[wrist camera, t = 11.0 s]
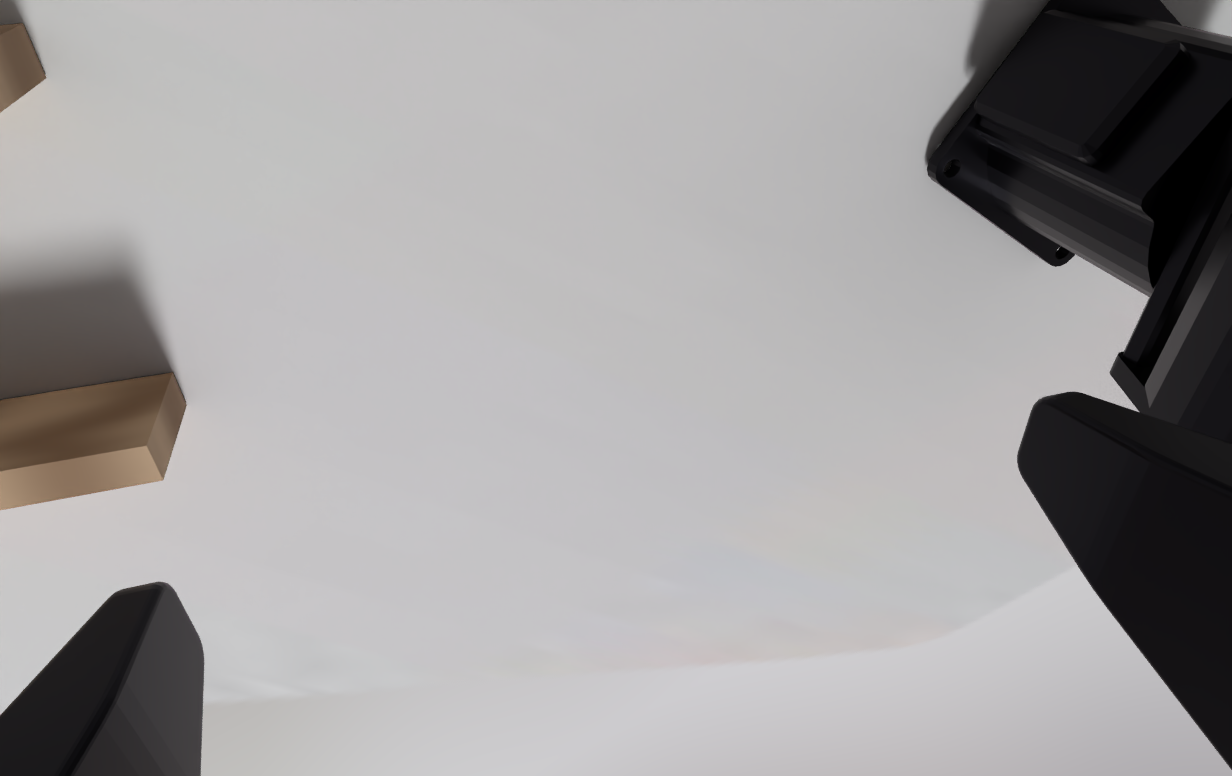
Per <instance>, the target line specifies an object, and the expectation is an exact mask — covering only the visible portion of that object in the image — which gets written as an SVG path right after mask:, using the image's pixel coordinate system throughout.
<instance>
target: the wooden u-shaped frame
mask: <svg viewBox="0 0 1232 776" xmlns="http://www.w3.org/2000/svg"><path fill="white" fill-rule="evenodd" d="M44 79H46V76H45V74H44V71H43V69H42V67H41V64H40V62H39V60H38V57H37V55H36V53H35V50H34V48H33V46H32V43H31V41H30V39H29V36H28V34H27V32H26V29H25V27H24V25H23V23H20V24H7V25H0V112H2V111H3V110H4V109H6V108H7V107H8V106H10V105H11V104H12V103H14V102H15V101H16V100H18V99H19V98H20V97H22V96H23V95H24V94H26V93H27V92H28V91H30V90H31V89H32V88H34V87H35V86H36V85H38V84H39V83H40V82H42V81H43V80H44ZM186 406H187V405H186V402H185V400H184V398H183V395H182V393H181V391H180V388H179V386H178V384H177V381H176V379H175V377H174V374H173V372H172V373H166V374H160V375H153V376H147V377H141V378H135V379H129V380H122V381H116V382H110V383H104V384H97V385H91V386H85V387H79V388H72V389H66V390H60V391H54V392H47V393H41V394H35V395H29V396H23V397H16V398H10V399H4V400H0V510H4V509H10V508H15V507H20V506H26V505H31V504H37V503H42V502H48V501H53V500H59V499H64V498H69V497H75V496H80V495H86V494H91V493H97V492H102V491H108V490H113V489H118V488H124V487H129V486H135V485H140V484H146V483H151V482H157V481H162V480H163V479H164V476H165V473H166V470H167V467H168V463H169V460H170V457H171V454H172V450H173V447H174V444H175V441H176V438H177V434H178V431H179V428H180V425H181V422H182V418H183V415H184V412H185V409H186Z"/></svg>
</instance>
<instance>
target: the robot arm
mask: <svg viewBox="0 0 1232 776" xmlns="http://www.w3.org/2000/svg"><path fill="white" fill-rule="evenodd" d="M950 160H952V164H951V166H950V168H949V169H948V170H947V171H946V172H944V168H945V166H946V164H947V163H948V162H949V161H950ZM927 171H928V176H929V177H930V178H931V179H932V180H933V181H934V182H936V183H937V184H939V185H940V186H941V187H943V188H944V189H945V190H947V191H948V192H950V193H951V194H952V195H954V196H955V197H956V198H958V199H959V200H961V201H962V202H963V203H965V204H966V205H968V206H969V207H970V208H972V209H973V210H974V211H976V212H977V213H979V214H980V215H981V216H983V217H984V218H985V219H987V220H988V221H990V222H991V223H992V224H994V225H995V226H996V227H998V228H999V229H1001V230H1002V231H1003V232H1005V233H1006V234H1007V235H1009V236H1010V237H1012V238H1013V239H1014V240H1016V241H1017V242H1019V243H1020V244H1021V245H1023V246H1024V247H1025V248H1027V249H1028V250H1030V251H1031V252H1032V253H1034V254H1035V255H1036V256H1038V257H1039V258H1041V259H1042V260H1044V261H1045V262H1047V263H1048V264H1050V265H1052V266H1055V267H1056V266H1061V265H1063V264H1065V263H1067V262H1068V261H1069V260H1070V259H1071V258H1072V257H1073V256H1074V255H1075V254H1076V255H1078V256H1079V257H1081V258H1083V259H1085V260H1086V261H1088V262H1090V263H1091V264H1093V265H1095V266H1097V267H1098V268H1100V269H1102V270H1104V271H1105V272H1107V273H1109V274H1110V275H1112V276H1114V277H1116V278H1117V279H1119V280H1121V281H1122V282H1124V283H1126V284H1128V285H1129V286H1131V287H1133V288H1135V289H1136V290H1138V291H1140V292H1141V293H1143V294H1145V295H1147V296H1148V297H1149V300H1148V302H1147V304H1146V306H1145V308H1144V310H1143V312H1142V314H1141V316H1140V319H1139V321H1138V323H1137V325H1136V327H1135V329H1134V331H1133V333H1132V336H1131V338H1130V340H1129V342H1128V344H1127V346H1126V348H1125V350H1124V352H1120V353H1119V354H1118V355H1117V357H1116V360H1115V362H1114V364H1113V366H1112V368H1111V370H1110V375H1111V376H1112V377H1113V378H1114V380H1115V381H1116V382H1117V384H1118V385H1119V386H1120V387H1121V389H1122V390H1123V391H1124V393H1125V394H1126V395H1127V396H1128V398H1129V399H1130V400H1131V401H1132V403H1133V404H1134V405H1135V407H1136V408H1137V409H1138V410H1139V412H1140V413H1139V412H1137V411H1134V410H1131V409H1128V408H1125V407H1122V406H1119V405H1116V404H1113V403H1110V402H1107V401H1104V400H1101V399H1098V398H1095V397H1092V396H1089V395H1086V394H1083V393H1079V392H1066V393H1061V394H1056V395H1051V396H1046V397H1043V398H1041V399H1039V400H1038V401H1037V402H1036V403H1035V404H1034V406H1033V408H1032V410H1031V413H1030V416H1029V419H1028V423H1027V426H1026V429H1025V432H1024V435H1023V438H1022V441H1021V444H1020V447H1019V450H1018V455H1017V463H1018V468H1019V471H1020V474H1021V476H1022V478H1023V479H1024V481H1025V482H1026V484H1027V486H1028V487H1029V489H1030V490H1031V492H1032V494H1033V495H1034V497H1035V498H1036V500H1037V502H1038V503H1039V505H1040V506H1041V508H1042V510H1043V511H1044V513H1045V514H1046V516H1047V518H1048V519H1049V521H1050V522H1051V524H1052V525H1053V527H1054V529H1055V530H1056V532H1057V533H1058V535H1059V537H1060V538H1061V540H1062V541H1063V543H1064V545H1065V546H1066V548H1067V549H1068V551H1069V553H1070V554H1071V556H1072V557H1073V559H1074V560H1075V562H1076V564H1077V565H1078V567H1079V568H1080V570H1081V572H1082V573H1083V575H1084V576H1085V577H1086V579H1087V581H1088V582H1089V584H1090V585H1091V587H1092V588H1093V590H1094V591H1095V592H1096V594H1097V595H1098V596H1099V598H1100V599H1101V600H1102V602H1103V603H1104V605H1105V606H1106V607H1107V609H1108V610H1109V611H1110V612H1111V614H1112V615H1113V616H1114V618H1115V619H1116V620H1117V621H1118V623H1119V624H1120V625H1121V627H1122V628H1123V629H1124V631H1125V632H1126V633H1127V635H1129V637H1130V638H1131V640H1132V641H1133V642H1134V644H1135V645H1136V646H1137V648H1138V649H1139V650H1140V651H1141V653H1142V654H1143V655H1144V657H1145V658H1146V659H1147V660H1148V662H1149V663H1150V664H1151V666H1152V667H1153V668H1154V670H1155V671H1156V672H1157V673H1158V675H1159V676H1160V677H1161V679H1162V680H1163V681H1164V683H1165V684H1166V685H1167V686H1168V688H1169V689H1170V690H1171V692H1172V693H1173V694H1174V696H1175V697H1176V698H1177V699H1178V701H1179V702H1180V703H1181V705H1182V706H1183V707H1184V709H1185V710H1186V711H1187V712H1188V714H1189V715H1190V716H1191V718H1192V719H1193V720H1194V722H1195V723H1196V724H1197V725H1198V727H1199V728H1200V729H1201V731H1202V732H1203V733H1204V735H1205V736H1206V737H1207V738H1208V740H1209V741H1210V742H1211V743H1212V745H1213V746H1214V747H1215V749H1216V750H1217V751H1218V752H1219V754H1220V755H1221V756H1222V758H1223V759H1224V760H1225V762H1226V763H1227V764H1228V765H1229V767H1230V768H1231V770H1232V37H1229V36H1225V35H1220V34H1216V33H1211V32H1207V31H1203V30H1198V29H1194V28H1189V27H1185V26H1182V25H1181V24H1180V23H1179V22H1178V21H1177V20H1176V18H1175V17H1174V16H1173V15H1172V14H1171V13H1170V12H1169V10H1168V9H1167V8H1166V7H1165V6H1164V5H1163V3H1162V2H1161V1H1160V0H1050V1H1049V3H1048V4H1047V5H1046V7H1045V8H1044V9H1043V11H1042V12H1041V13H1040V14H1039V16H1038V17H1037V18H1036V20H1035V21H1034V22H1033V24H1032V25H1031V26H1030V28H1029V29H1028V30H1027V32H1026V33H1025V34H1024V35H1023V37H1022V38H1021V39H1020V41H1019V42H1018V43H1017V45H1016V46H1015V47H1014V49H1013V50H1012V51H1011V53H1010V54H1009V55H1008V57H1007V58H1006V59H1005V60H1004V62H1003V63H1002V64H1001V66H1000V67H999V68H998V70H997V71H996V72H995V74H994V75H993V76H992V78H991V79H990V80H989V81H988V83H987V84H986V85H985V87H984V88H983V89H982V91H981V92H980V93H979V95H978V96H977V97H976V99H975V100H974V101H973V102H972V104H971V105H970V106H969V108H968V109H967V110H966V112H965V113H964V114H963V116H962V117H961V118H960V120H959V121H958V122H957V124H956V125H955V126H954V127H953V129H952V130H951V131H950V133H949V134H948V135H947V137H946V138H945V139H944V141H943V142H942V143H941V145H940V146H939V147H938V148H937V150H936V151H935V152H934V154H933V155H932V157H931V159H930V160H929V162H928V167H927ZM1059 247H1060V248H1059ZM1058 248H1059V250H1057V249H1058ZM203 686H204V653H203V647H202V643H201V640H200V638H199V635H198V633H197V632H196V630H195V628H194V626H193V624H192V622H191V620H190V618H189V616H188V614H187V613H186V611H185V609H184V607H183V605H182V603H181V601H180V599H179V597H178V596H177V594H176V592H175V590H174V589H173V588H172V587H171V586H170V585H169V584H168V583H165V582H155V583H150V584H145V585H140V586H135V587H131V588H126V589H122V590H120V591H117V592H116V593H114V594H113V595H112V596H110V597H109V598H108V599H107V600H106V601H105V603H104V604H103V605H102V606H101V607H100V608H99V609H98V610H97V611H96V612H95V613H94V614H93V616H92V617H91V618H90V619H89V620H88V621H87V622H86V623H85V624H84V625H83V626H82V627H81V628H80V630H79V631H78V632H77V633H76V634H75V635H74V636H73V637H72V638H71V639H70V640H69V641H68V643H67V644H66V645H65V646H64V647H63V648H62V649H61V650H60V651H59V652H58V653H57V654H56V656H55V657H54V658H53V659H52V660H51V661H50V662H49V663H48V664H47V665H46V666H45V667H44V668H43V670H42V671H41V672H40V673H39V674H38V675H37V676H36V677H35V678H34V679H33V680H32V681H31V683H30V684H29V685H28V686H27V687H26V688H25V689H24V690H23V691H22V692H21V693H20V694H19V696H18V697H17V698H16V699H15V700H14V701H13V702H12V703H11V704H10V705H9V706H8V707H7V709H6V710H5V711H4V712H3V713H2V714H1V715H0V776H201V775H200V774H201V745H202V716H203Z"/></svg>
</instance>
